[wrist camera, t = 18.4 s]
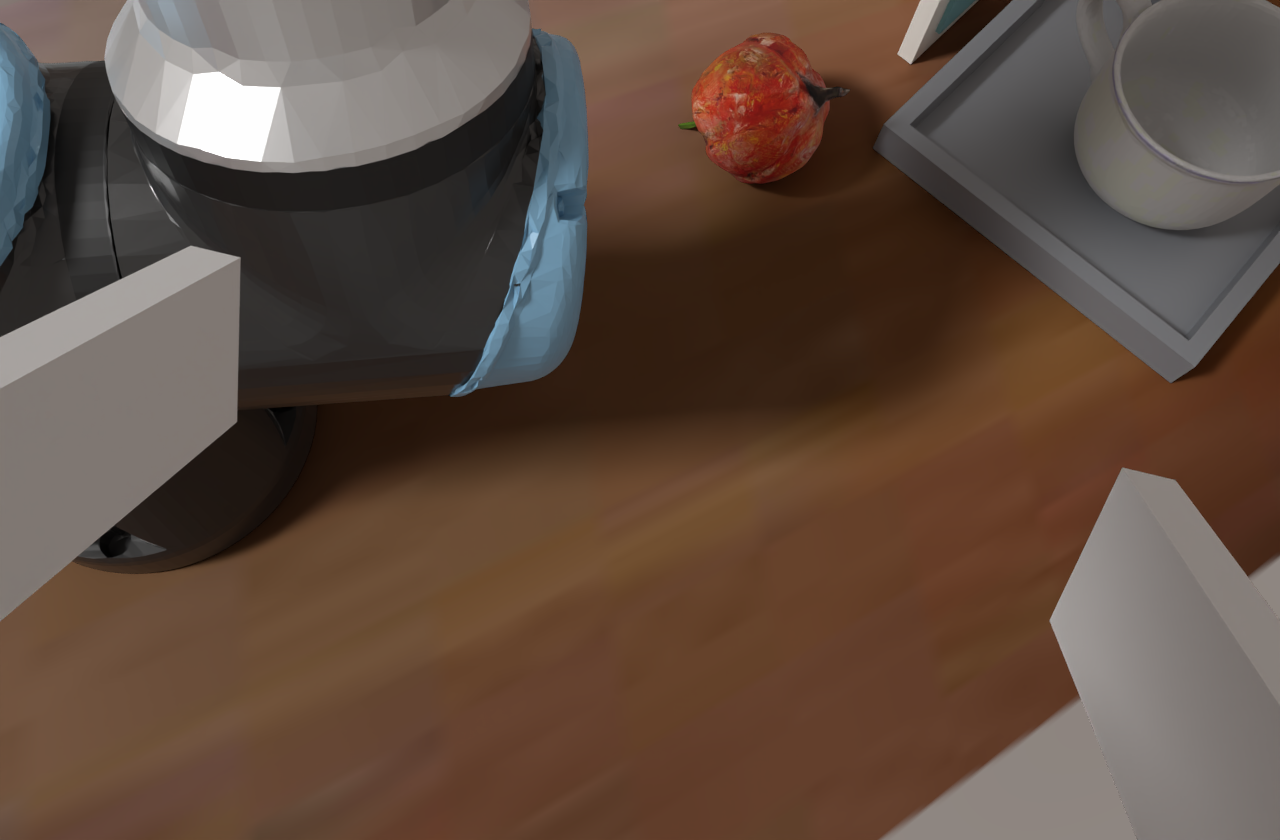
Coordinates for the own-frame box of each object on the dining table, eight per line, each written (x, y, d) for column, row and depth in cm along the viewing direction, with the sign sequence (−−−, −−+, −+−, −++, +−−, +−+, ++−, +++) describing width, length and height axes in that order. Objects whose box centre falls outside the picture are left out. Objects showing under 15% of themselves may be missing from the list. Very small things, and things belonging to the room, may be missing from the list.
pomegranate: (679, 216, 56) (836, 210, 50) (616, 112, 51) (781, 90, 45) (734, 128, 59) (889, 111, 53) (679, 21, 54) (842, -11, 48)
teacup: (1279, 219, 54) (1390, 131, 47) (1112, 285, 52) (1199, 204, 45) (1143, 24, 58) (1225, -86, 51) (983, 80, 56) (1044, -26, 49)
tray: (872, 148, 55) (883, 124, 53) (1077, -50, 61) (1094, -79, 59) (1170, 383, 51) (1194, 367, 49) (1361, 149, 57) (1390, 126, 55)
